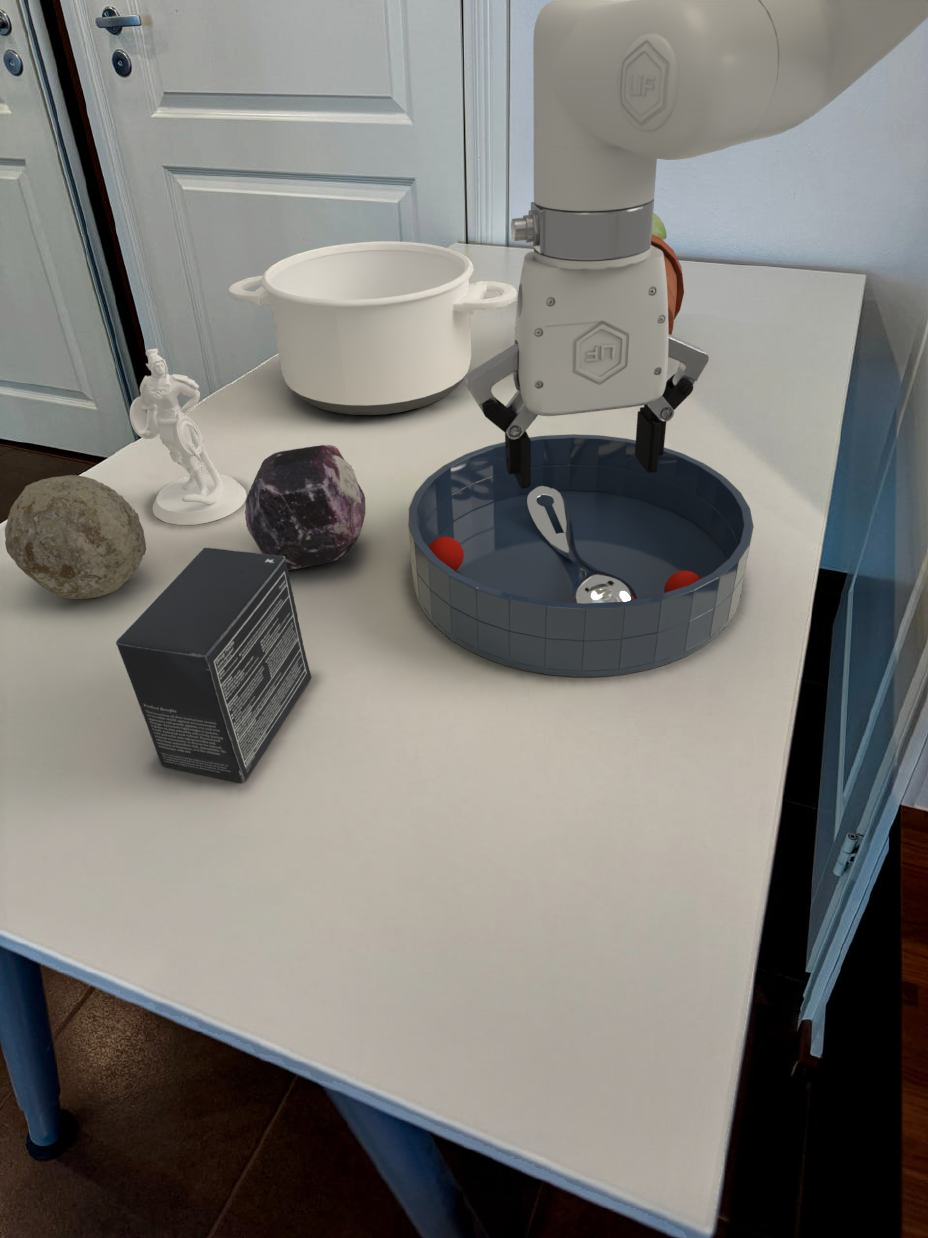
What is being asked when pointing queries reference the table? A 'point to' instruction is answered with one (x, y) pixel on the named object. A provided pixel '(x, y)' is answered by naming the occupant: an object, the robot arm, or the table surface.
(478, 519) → the bowl
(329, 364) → the pot
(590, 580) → the metal spoon
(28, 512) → the decorative stone
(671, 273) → the potted plant
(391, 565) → the table surface
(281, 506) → the mineral specimen
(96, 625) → the table surface
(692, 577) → the tomato
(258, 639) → the small box
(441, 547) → the tomato
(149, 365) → the figurine
